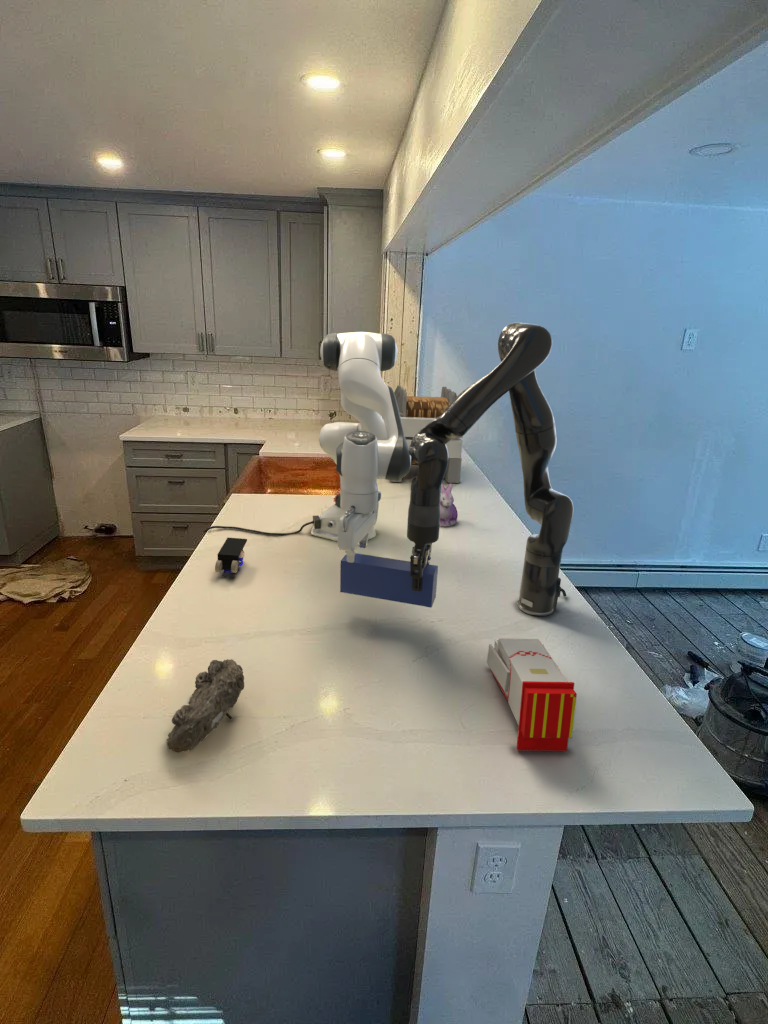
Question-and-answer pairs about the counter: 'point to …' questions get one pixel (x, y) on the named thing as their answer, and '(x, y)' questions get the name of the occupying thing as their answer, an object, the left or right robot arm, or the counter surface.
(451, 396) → the transformer
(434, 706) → the counter surface
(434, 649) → the counter surface
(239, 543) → the figurine character
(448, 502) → the figurine
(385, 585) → the block
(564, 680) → the toy
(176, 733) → the fossil
